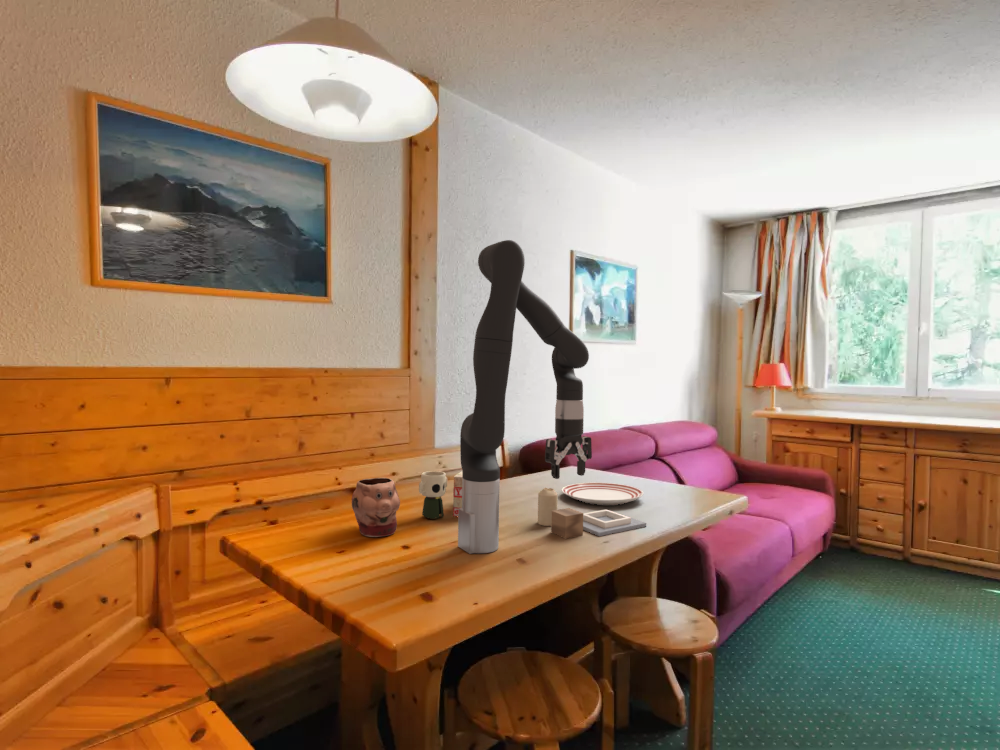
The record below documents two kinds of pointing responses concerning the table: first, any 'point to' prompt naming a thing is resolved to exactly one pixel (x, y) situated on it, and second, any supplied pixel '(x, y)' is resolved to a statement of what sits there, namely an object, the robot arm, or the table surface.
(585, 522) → the baseplate
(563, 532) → the walnut block
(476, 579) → the table surface
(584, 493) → the dinner plate
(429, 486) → the character mug
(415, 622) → the table surface
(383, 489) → the decorative planter
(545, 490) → the candle
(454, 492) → the stack of blocks
